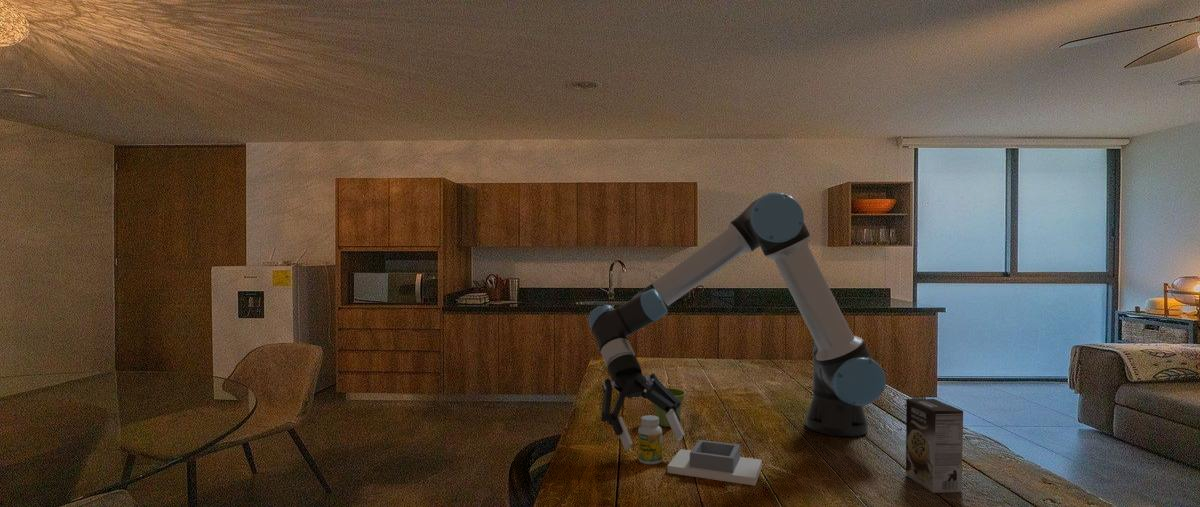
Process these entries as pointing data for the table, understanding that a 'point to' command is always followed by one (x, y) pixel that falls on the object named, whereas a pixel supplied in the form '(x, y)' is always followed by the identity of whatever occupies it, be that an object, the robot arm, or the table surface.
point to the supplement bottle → (650, 440)
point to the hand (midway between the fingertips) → (655, 442)
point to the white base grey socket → (716, 463)
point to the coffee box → (934, 445)
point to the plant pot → (662, 414)
